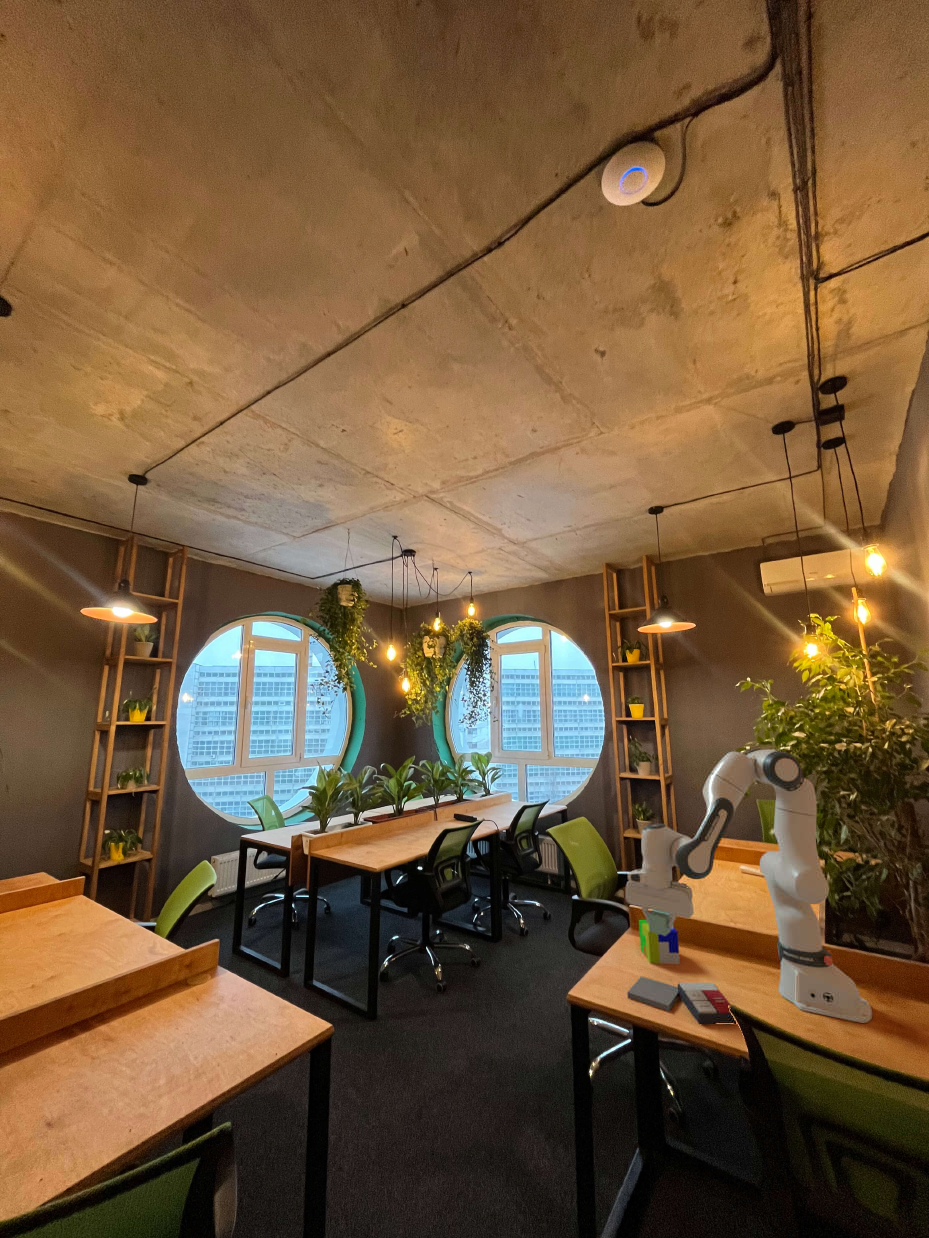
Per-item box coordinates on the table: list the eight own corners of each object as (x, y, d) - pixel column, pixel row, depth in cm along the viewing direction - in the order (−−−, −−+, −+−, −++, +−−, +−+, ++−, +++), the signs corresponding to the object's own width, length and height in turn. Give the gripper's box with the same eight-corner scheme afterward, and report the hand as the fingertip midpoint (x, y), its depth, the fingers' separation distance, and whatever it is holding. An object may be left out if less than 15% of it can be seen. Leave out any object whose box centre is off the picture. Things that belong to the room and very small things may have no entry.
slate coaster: (681, 993, 153) (680, 988, 153) (669, 1011, 144) (668, 1005, 144) (641, 981, 160) (641, 976, 161) (627, 997, 151) (627, 991, 151)
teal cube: (670, 930, 159) (669, 913, 160) (665, 935, 155) (664, 918, 156) (654, 926, 162) (654, 909, 163) (649, 931, 158) (648, 913, 159)
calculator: (698, 1011, 138) (676, 980, 153) (699, 1028, 137) (677, 996, 152) (739, 1011, 138) (713, 980, 153) (740, 1028, 137) (714, 996, 152)
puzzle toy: (679, 963, 172) (677, 931, 174) (650, 963, 172) (648, 931, 174) (668, 950, 182) (666, 920, 184) (640, 950, 182) (638, 919, 184)
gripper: (694, 882, 157) (697, 931, 154) (630, 869, 170) (632, 914, 167) (688, 887, 152) (691, 938, 150) (622, 873, 165) (624, 919, 162)
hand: (659, 925), depth 158 cm, fingers closed on teal cube, 5 cm apart
